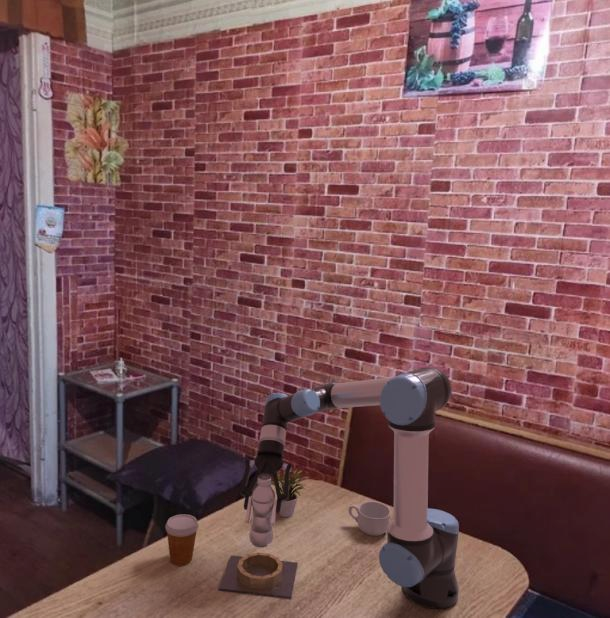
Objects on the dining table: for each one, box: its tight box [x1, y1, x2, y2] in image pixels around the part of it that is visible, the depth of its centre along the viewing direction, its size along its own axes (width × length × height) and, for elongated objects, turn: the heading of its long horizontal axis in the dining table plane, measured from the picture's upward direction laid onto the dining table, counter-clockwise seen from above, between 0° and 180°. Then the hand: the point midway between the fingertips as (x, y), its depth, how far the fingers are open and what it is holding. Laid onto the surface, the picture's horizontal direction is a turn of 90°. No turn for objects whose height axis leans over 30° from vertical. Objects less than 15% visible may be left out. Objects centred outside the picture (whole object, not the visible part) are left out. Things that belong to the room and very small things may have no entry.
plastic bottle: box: [248, 474, 276, 548], centre depth 165 cm, size 6×7×20 cm
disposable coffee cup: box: [164, 514, 200, 567], centre depth 173 cm, size 10×10×12 cm
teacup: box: [348, 500, 392, 537], centre depth 196 cm, size 14×11×8 cm
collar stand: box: [217, 552, 299, 600], centre depth 168 cm, size 20×16×4 cm
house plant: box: [271, 468, 309, 518], centre depth 202 cm, size 14×14×16 cm
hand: (259, 522), depth 162 cm, fingers closed on plastic bottle, 6 cm apart
